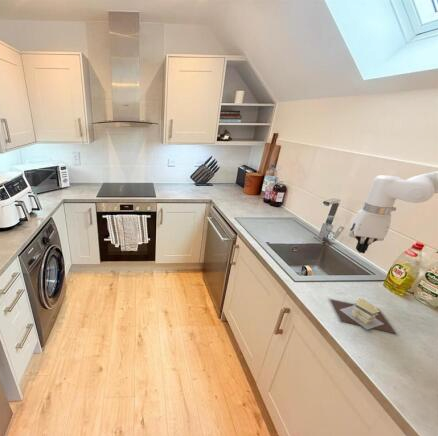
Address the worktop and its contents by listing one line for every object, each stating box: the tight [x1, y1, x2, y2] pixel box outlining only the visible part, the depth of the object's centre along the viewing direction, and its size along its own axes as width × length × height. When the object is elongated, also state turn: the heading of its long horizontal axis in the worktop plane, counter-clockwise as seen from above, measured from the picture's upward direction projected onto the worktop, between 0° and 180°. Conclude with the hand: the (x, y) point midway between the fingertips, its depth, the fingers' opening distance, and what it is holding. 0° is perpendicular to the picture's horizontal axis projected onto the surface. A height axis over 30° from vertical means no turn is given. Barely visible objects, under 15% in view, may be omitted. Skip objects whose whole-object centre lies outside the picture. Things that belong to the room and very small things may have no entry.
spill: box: [330, 299, 396, 334], centre depth 91 cm, size 16×12×1 cm
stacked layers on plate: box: [339, 298, 383, 330], centre depth 89 cm, size 10×9×6 cm
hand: (360, 251), depth 95 cm, fingers closed
